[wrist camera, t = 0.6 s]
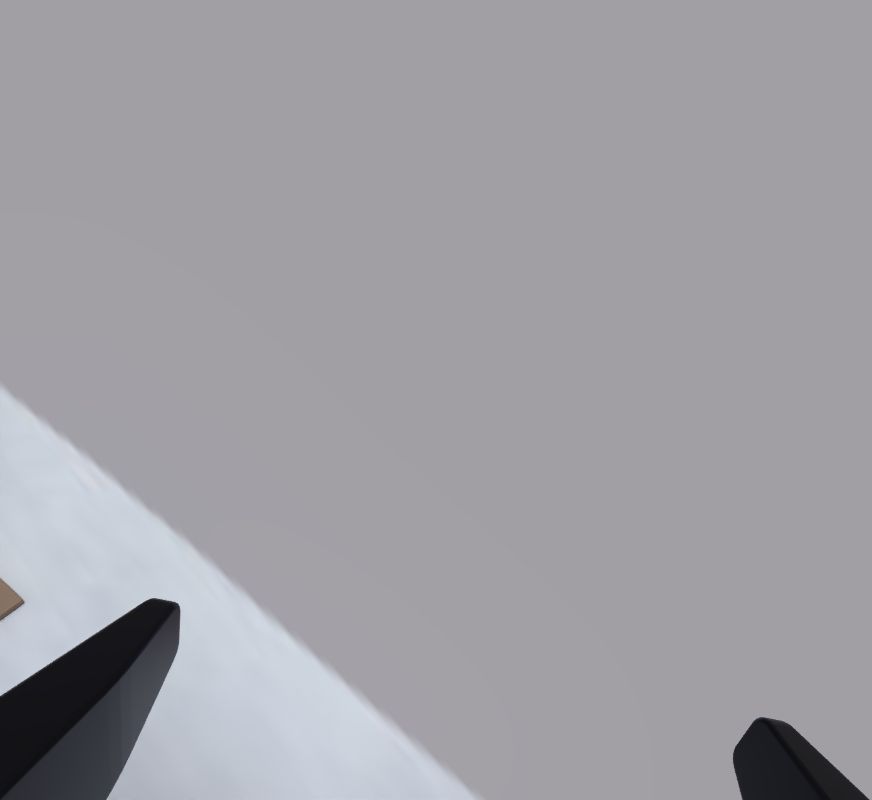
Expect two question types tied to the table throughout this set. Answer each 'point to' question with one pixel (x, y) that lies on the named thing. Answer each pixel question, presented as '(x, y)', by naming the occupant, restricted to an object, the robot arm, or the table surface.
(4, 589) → the stand board
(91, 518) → the table surface
